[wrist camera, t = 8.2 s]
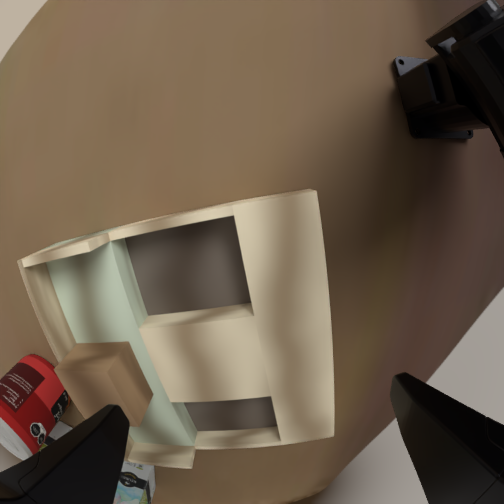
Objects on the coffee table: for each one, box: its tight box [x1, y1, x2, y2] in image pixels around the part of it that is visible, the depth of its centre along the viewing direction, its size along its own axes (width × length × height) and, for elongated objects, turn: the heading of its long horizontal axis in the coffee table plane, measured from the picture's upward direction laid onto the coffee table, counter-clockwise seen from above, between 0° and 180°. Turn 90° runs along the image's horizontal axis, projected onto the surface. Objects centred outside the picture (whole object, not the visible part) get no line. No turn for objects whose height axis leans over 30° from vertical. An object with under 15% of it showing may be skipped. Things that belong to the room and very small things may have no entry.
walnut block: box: [54, 341, 153, 427], centre depth 18 cm, size 6×6×4 cm
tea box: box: [39, 421, 155, 504], centre depth 22 cm, size 15×10×15 cm, turn 77°
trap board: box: [17, 189, 334, 469], centre depth 20 cm, size 21×22×5 cm
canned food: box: [0, 354, 71, 460], centre depth 20 cm, size 8×8×11 cm
